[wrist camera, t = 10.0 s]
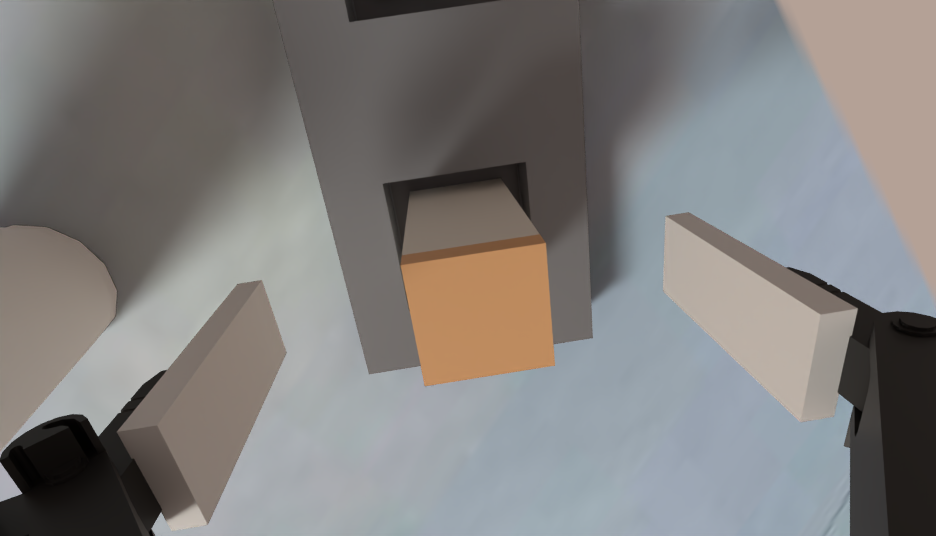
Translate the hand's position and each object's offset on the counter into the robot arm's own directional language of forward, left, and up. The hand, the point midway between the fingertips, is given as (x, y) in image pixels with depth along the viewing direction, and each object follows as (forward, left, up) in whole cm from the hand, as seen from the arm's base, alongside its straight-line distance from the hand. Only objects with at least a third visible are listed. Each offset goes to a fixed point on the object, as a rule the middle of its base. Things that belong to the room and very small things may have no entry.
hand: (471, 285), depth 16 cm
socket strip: (-6, 0, -8) cm, 10 cm away
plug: (0, 0, -7) cm, 8 cm away
